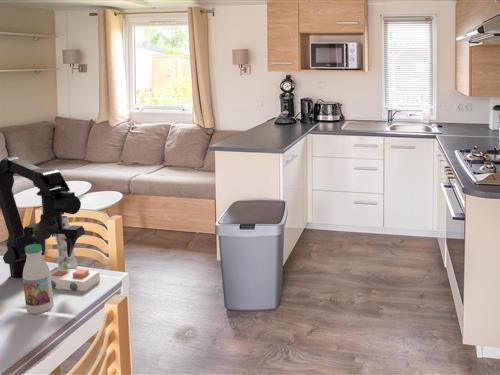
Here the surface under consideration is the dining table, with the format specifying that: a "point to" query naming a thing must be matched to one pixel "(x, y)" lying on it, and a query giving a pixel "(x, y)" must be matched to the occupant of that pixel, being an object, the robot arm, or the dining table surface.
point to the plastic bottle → (65, 250)
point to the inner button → (60, 273)
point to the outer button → (80, 273)
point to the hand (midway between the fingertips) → (56, 256)
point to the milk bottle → (37, 281)
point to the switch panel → (73, 280)
